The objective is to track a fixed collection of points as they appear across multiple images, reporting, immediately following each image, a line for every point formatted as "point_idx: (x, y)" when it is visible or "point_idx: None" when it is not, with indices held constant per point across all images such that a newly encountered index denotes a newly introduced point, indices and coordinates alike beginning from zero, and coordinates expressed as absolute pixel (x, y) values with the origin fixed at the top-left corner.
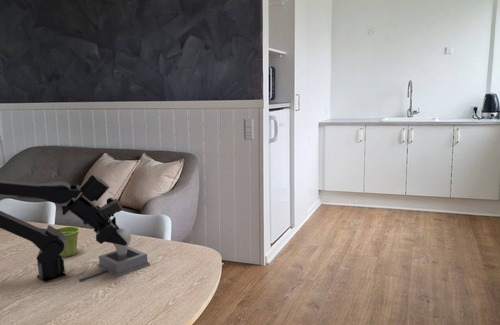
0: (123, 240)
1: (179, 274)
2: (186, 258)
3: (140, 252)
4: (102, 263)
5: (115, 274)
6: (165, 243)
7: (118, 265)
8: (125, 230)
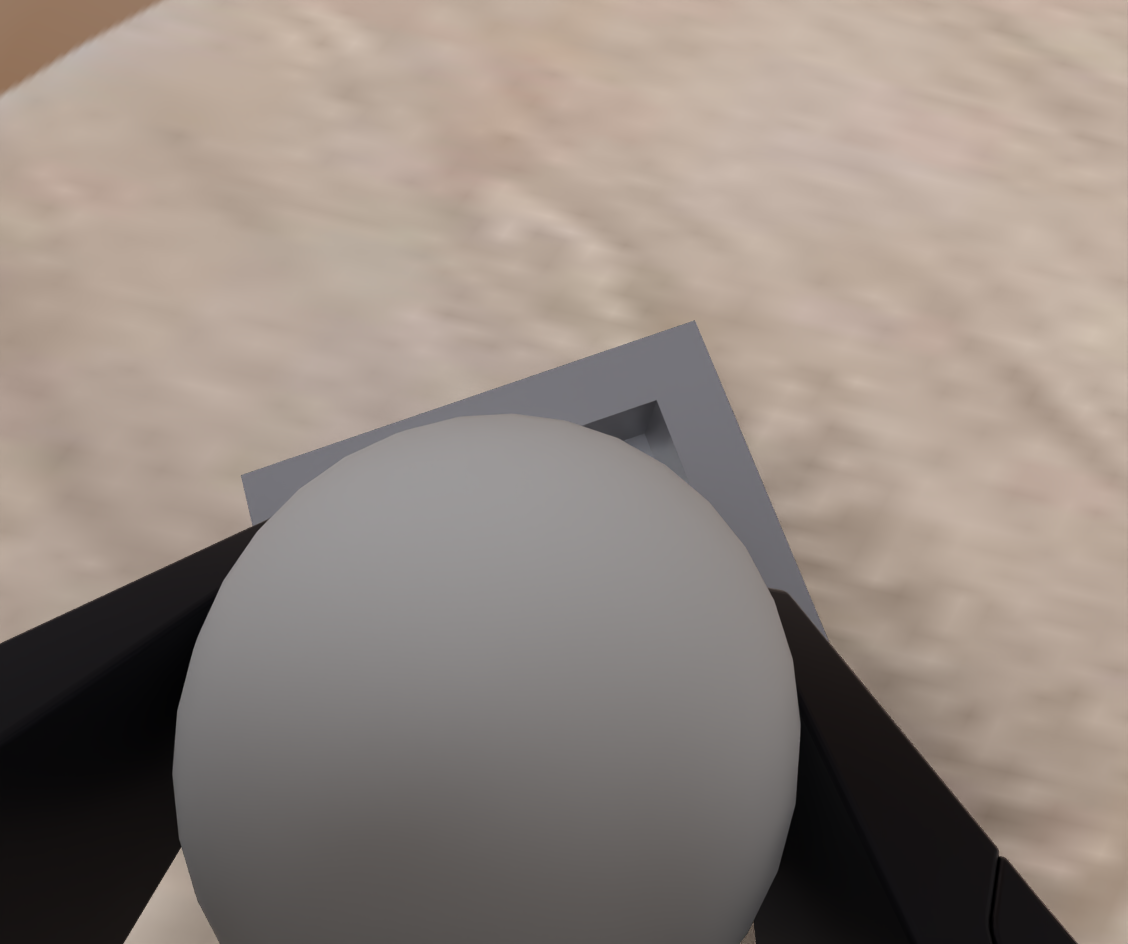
0: (867, 706)
1: (1071, 170)
2: (697, 13)
3: (581, 382)
4: None
5: None
6: (170, 75)
7: None
8: (597, 560)
